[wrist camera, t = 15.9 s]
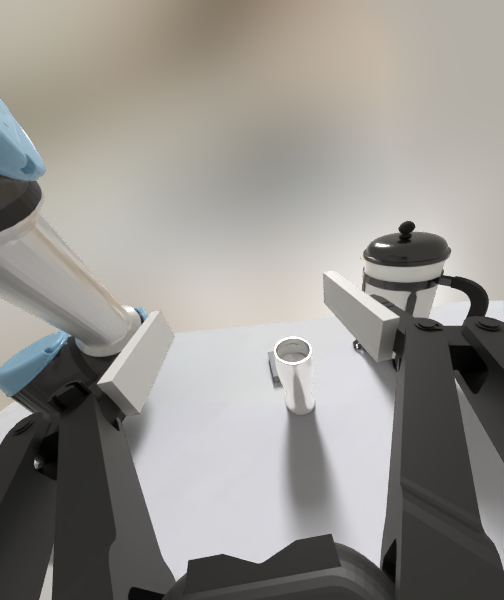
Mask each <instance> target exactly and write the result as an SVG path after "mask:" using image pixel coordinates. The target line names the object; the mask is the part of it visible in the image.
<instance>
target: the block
mask: <svg viewBox="0 0 504 600" xmlns="http://www.w3.org/2000/svg"><path fill="white" fill-rule="evenodd" d="M268 355H269V360H270V364H271V369H272V373H273V378H274V382H277V381H280V379H279V376H278V373H277V370H276V364H275V355H274V351H273V352H268Z"/></svg>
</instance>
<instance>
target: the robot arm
mask: <svg viewBox="0 0 504 600" xmlns="http://www.w3.org/2000/svg"><path fill="white" fill-rule="evenodd" d="M45 171H46V170H45V165H44V162H43V160H42V159H41V157H40V155H39V153H38V151H37V150H36V148H35V146H34V145H33V143H32V142H31V140H30V139H29V137H28V136H27V134H26V133H25V132H24V130H23V129H22V128H21V127H20V125H19V124H18V122H17V121H16V120H15V119H14V117H13V116H12V115H11V113H10V111H9V109H8V108H7V106H6V105H5V104H4V102H3V101H2V100H1V98H0V298H2V299H4V300H6V301H8V302H10V303H11V304H13V305H15V306H17V307H19V308H21V309H23V310H24V311H26V312H28V313H30V314H32V315H34V316H36V317H38V318H40V319H42V320H43V321H45V322H47V323H49V324H51V325H53V326H54V327H56V328H58V329H60V330H62V331H64V332H66V333H68V334H70V335H71V336H70V337H69V336H68V334H66V333H64V332H57V333H53V334H51V335H48V336H46V337H44V338H42V339H40V340H38V341H36V342H34V343H33V344H31V345H30V346H28V347H26V348H25V349H23V350H22V351H20V352H19V353H17V354H16V355H15V356H13V357H12V358H10V359H9V360H8V361H7V362H6V363H4V364H3V366H1V367H0V389H1V390H2V391H3V392H4V393H5V394H6V395H7V397H11V398H12V399H14V400H15V401H16V402H18V403H19V404H21V405H22V406H23V407H25V408H26V409H28V410H29V411H30V412H32V413H33V414H31V415H29V416H28V417H26V418H24V419H22V420H21V421H19V422H18V423H17V424H16V425H15V426H14V427H13V428H12V429H11V430H10V431H9V432H8V434H7V435H6V436H5V438H4V439H3V441H2V443H1V444H0V600H39V598H40V594H41V590H42V586H43V582H44V578H45V575H46V571H47V567H48V563H49V559H50V555H51V551H52V548H53V544H54V562H53V586H52V600H504V570H503V567H502V563H501V559H500V556H499V553H498V551H497V549H496V547H495V545H494V543H493V542H492V540H491V539H490V538H489V537H488V536H487V535H486V533H485V532H484V529H483V527H482V524H481V520H480V515H479V509H478V504H477V498H476V493H475V487H474V482H473V477H472V471H471V466H470V460H469V455H468V449H467V444H466V438H465V433H464V427H463V422H462V417H461V411H460V406H459V400H458V395H457V389H456V384H455V378H456V380H457V382H458V384H459V385H460V387H461V389H462V391H463V392H464V394H465V396H466V398H467V399H468V401H469V403H470V405H471V406H472V408H473V410H474V412H475V413H476V415H477V417H478V418H479V420H480V422H481V424H482V425H483V427H484V429H485V431H486V432H487V434H488V436H489V438H490V439H491V441H492V443H493V445H494V446H495V448H496V450H497V452H498V453H499V455H500V457H501V458H502V460H503V462H504V322H502V321H499V320H497V319H494V318H489V317H481V316H473V317H468V318H466V319H465V320H464V322H463V325H462V326H443V325H442V324H440V323H439V322H437V321H435V320H432V319H428V318H419V317H417V318H415V317H413V316H412V315H410V314H408V313H407V312H405V311H404V310H402V309H401V308H399V307H398V306H395V305H394V304H393V303H391V302H390V301H388V300H387V299H385V298H384V297H381V296H378V295H375V294H372V295H368V294H366V293H365V292H363V291H362V290H360V289H359V288H358V287H356V286H355V285H353V284H352V283H350V282H349V281H347V280H346V279H345V278H343V277H342V276H340V275H339V274H338V273H336V272H334V271H333V270H332V271H327V272H323V281H324V283H323V284H324V303H325V304H326V305H327V306H328V308H329V309H330V310H331V311H332V312H333V313H334V314H335V316H336V317H337V318H338V319H339V320H340V321H341V322H342V324H343V325H344V326H345V327H346V328H347V329H348V330H349V332H350V333H351V334H352V335H353V336H354V337H355V338H356V339H357V341H358V342H359V343H360V344H361V345H362V346H363V347H364V349H365V350H366V351H367V352H368V353H369V354H370V355H371V356H372V358H373V359H374V360H375V361H376V362H377V363H378V362H383V361H387V360H391V359H392V354H393V351H394V352H395V353H396V354H397V355H398V356H399V359H398V364H397V368H396V372H397V381H396V394H395V407H394V420H393V432H392V445H391V458H390V471H389V483H388V496H387V509H386V518H385V525H384V531H383V538H382V548H381V560H380V569H379V568H378V567H377V566H376V565H375V564H374V563H373V562H371V561H370V560H369V559H367V558H366V557H365V556H364V555H362V554H360V553H359V552H357V551H355V550H354V549H352V548H350V547H347V546H345V545H343V544H339V543H335V542H334V541H333V537H332V534H327V535H322V536H317V537H311V538H306V539H301V540H296V541H294V542H293V543H291V544H290V545H288V546H287V547H285V548H284V549H282V550H281V551H279V552H278V553H276V554H275V555H274V556H272V557H271V558H269V559H268V560H266V561H265V562H263V563H260V564H257V563H253V562H250V561H246V560H242V559H239V558H235V557H232V556H228V555H225V554H220V555H215V556H210V557H204V558H199V559H194V560H188V568H187V573H186V574H185V575H183V576H182V577H181V578H180V579H179V580H178V581H177V582H176V581H175V579H174V576H173V574H172V572H171V570H170V569H169V567H168V566H167V565H166V563H165V562H164V560H163V558H162V555H161V552H160V549H159V546H158V542H157V539H156V536H155V532H154V529H153V526H152V523H151V519H150V516H149V513H148V509H147V506H146V503H145V499H144V496H143V493H142V490H141V486H140V483H139V480H138V476H137V473H136V470H135V466H134V463H133V460H132V457H131V453H130V450H129V447H128V443H127V440H126V437H125V433H124V430H123V427H122V424H121V421H122V420H123V419H124V417H125V416H131V415H135V414H140V412H141V410H142V408H143V406H144V403H145V401H146V399H147V397H148V395H149V392H150V390H151V388H152V386H153V384H154V381H155V379H156V377H157V375H158V372H159V370H160V368H161V366H162V364H163V361H164V359H165V357H166V355H167V352H168V350H169V348H170V346H171V344H172V341H173V339H174V337H175V336H174V334H173V332H172V331H171V329H170V327H169V325H168V323H167V321H166V319H165V317H164V316H163V314H162V312H161V310H159V311H154V312H151V313H150V315H149V316H148V315H147V312H146V311H145V309H144V308H142V307H140V308H134V309H133V308H132V307H130V306H127V305H123V304H119V303H118V302H117V301H116V299H115V298H114V297H113V296H112V295H111V294H110V292H109V291H108V290H107V289H106V288H105V287H104V286H103V284H102V283H101V282H100V281H99V280H98V279H97V278H96V276H95V275H94V274H93V273H92V272H91V271H90V269H88V267H87V266H86V265H85V264H84V263H83V261H82V260H81V259H80V258H79V257H78V256H77V255H76V253H75V252H74V251H73V250H72V249H71V248H70V247H69V245H68V244H67V243H66V242H65V241H64V240H63V238H62V237H61V236H60V235H59V234H58V233H57V232H56V230H55V229H54V228H53V227H52V226H51V225H50V224H49V222H48V221H47V220H46V219H45V218H44V217H43V215H42V214H41V213H40V212H39V211H40V209H41V207H42V204H43V202H44V192H43V190H42V188H41V187H40V186H39V184H38V183H37V181H36V180H37V179H38V178H39V177H40V176H42V175H43V174H44V173H45ZM454 377H455V378H454ZM34 460H36V461H38V462H39V465H38V468H37V469H35V467H34Z"/></svg>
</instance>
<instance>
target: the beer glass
mask: <svg viewBox="0 0 504 600" xmlns="http://www.w3.org/2000/svg"><path fill="white" fill-rule="evenodd" d="M274 355H275V364H276V370H277V373H278V376H279V379H280V381H281V383H282V385H283V387H284V389H285V392H286V397H285V400H286V405H287V407H288V408H289V410H290V411H292V412H293V413H295V414H298V415H305V414H308V413H310V412H311V411H312V410H313V408H314V405H315V399H314V396H313V394H312V386H313V381H314V373H315V369H314V359H313V354H312V348H311V345H310V344H309V343H308V342H307V341H306V340H304V339H302V338H298V337H289V338H285V339H283V340H281V341H279V342H278V343H277V344H276V346H275V348H274Z"/></svg>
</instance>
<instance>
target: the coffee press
mask: <svg viewBox="0 0 504 600" xmlns="http://www.w3.org/2000/svg"><path fill="white" fill-rule="evenodd" d="M414 228H415V224H414V223H413V222H411V221H406V222H404V223H402V224H401V225H400V227H399V228H398V229H399V231H400V233H394V234H389V235H385V236H382V237H379V238H377V239H375V240H374V241H372V242H371V243H370V244H369V245H368V247H367V249H366V250H365V251H364V253H363V255H362V257H361V260H365V267H364V268H363V284H362V291H363V292H365V293H366V294H368V295H372V294H375V295H378V296H381V297H384V298H385V299H387V300H388V301H390V302H391V303H393V304H394V305H395V306H398V307H399V308H401V309H402V310H404V311H405V312H407V313H408V314H410V315H412V316H413V317H415V318H417V317H419V318H428V317H429V314H430V310H431V307H432V303H433V300H434V297H435V293H436V290H437V286H438V284H440V285H445V286H450V287H451V288H455V289H458V290H461V291H463V292H464V293H466V294H467V295H468V297H469V299H470V302H471V306H470V310H469V312H468V315H467V317H466V318H468V317H473V316H481V317H485V314H486V312H487V309H488V304H489V299H488V295H487V293H486V291H485V290H484V289H483V288H482V287H481V286H480V285H479V284H477V283H476V282H474V281H471V280H469V279H466V278H462V277H457V276H456V277H451V276H444V275H443V273H444V270H443V266H444V263H445V260H446V259H447V258H448V257H449V256H450V253H451V249H450V248H449V247H448V244H447V242H446V241H445V239H443V238H442V237H440V236H438V235H435V234H431V233H424V232H412V231H413V230H414ZM358 343H359V342H358V341H357V339H356V340H355V341H354V342H353V346H354V348H355V349H359V348H361V347H363V346H362V345H361V344H360V343H359V344H358ZM356 344H358V345H356ZM398 359H399V356H398V355H397V354H396V353H395V352H394V351H393V354H392V361H393V366H394V369H395V370H396V368H397V364H398Z"/></svg>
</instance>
